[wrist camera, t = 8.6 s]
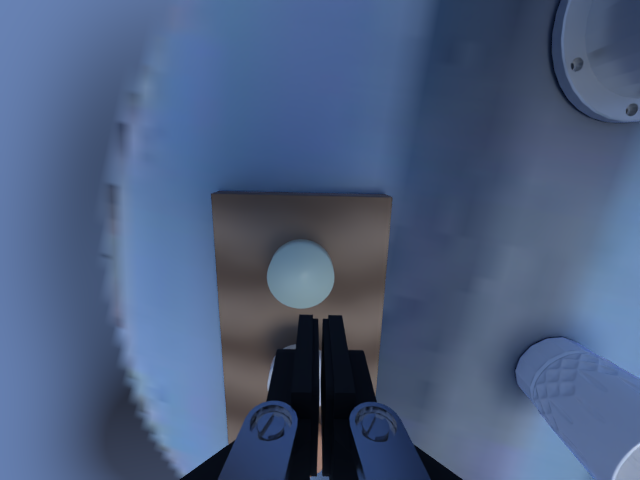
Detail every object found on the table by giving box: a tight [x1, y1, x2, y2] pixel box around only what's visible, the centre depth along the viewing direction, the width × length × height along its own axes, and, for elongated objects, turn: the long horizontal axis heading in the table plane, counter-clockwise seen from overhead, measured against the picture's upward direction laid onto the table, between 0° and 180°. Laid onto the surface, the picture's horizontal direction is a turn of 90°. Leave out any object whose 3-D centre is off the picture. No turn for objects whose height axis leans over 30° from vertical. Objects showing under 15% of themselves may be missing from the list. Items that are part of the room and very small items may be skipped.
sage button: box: [267, 239, 334, 309], centre depth 21 cm, size 4×4×3 cm
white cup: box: [515, 337, 640, 480], centre depth 23 cm, size 8×8×10 cm
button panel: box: [211, 191, 392, 444], centre depth 25 cm, size 25×13×2 cm, turn 179°
